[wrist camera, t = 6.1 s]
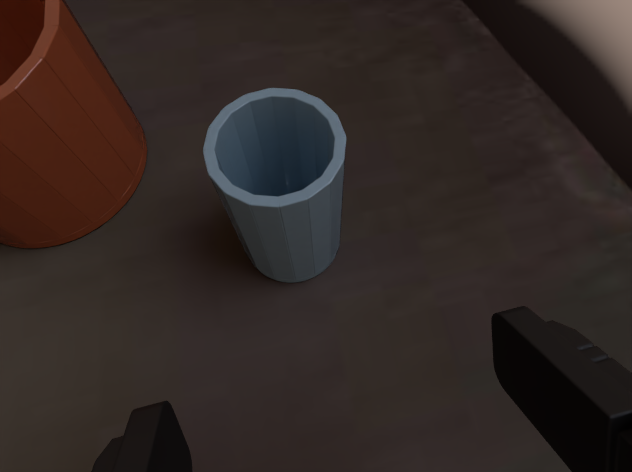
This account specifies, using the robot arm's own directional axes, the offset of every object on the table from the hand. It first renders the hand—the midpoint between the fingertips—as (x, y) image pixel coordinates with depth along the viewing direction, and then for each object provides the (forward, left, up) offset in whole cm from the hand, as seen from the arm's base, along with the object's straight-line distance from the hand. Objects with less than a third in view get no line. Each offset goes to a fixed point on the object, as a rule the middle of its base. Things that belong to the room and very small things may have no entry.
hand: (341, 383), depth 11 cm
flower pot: (+14, +20, -14) cm, 28 cm away
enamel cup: (+10, +3, -14) cm, 18 cm away
